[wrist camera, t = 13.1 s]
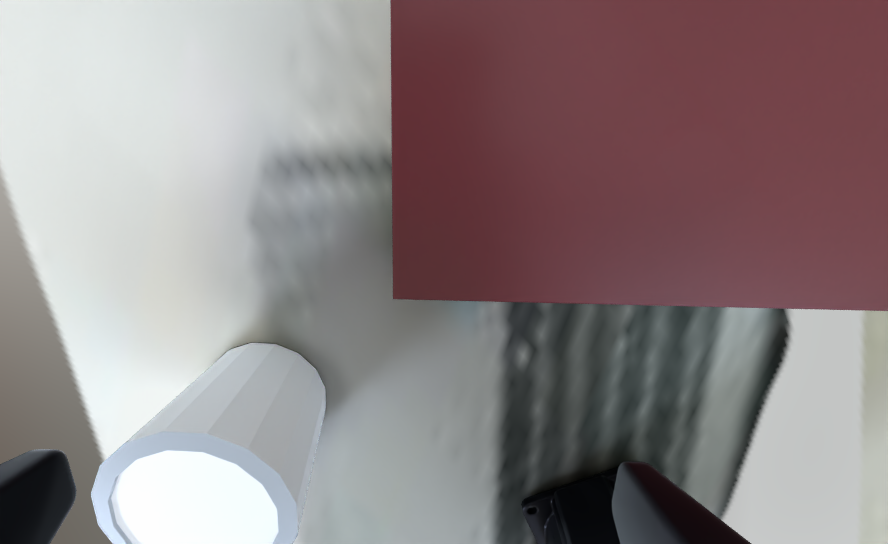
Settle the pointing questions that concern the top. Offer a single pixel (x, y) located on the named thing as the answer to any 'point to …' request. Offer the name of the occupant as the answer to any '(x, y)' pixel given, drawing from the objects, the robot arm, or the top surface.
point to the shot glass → (220, 457)
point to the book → (641, 152)
